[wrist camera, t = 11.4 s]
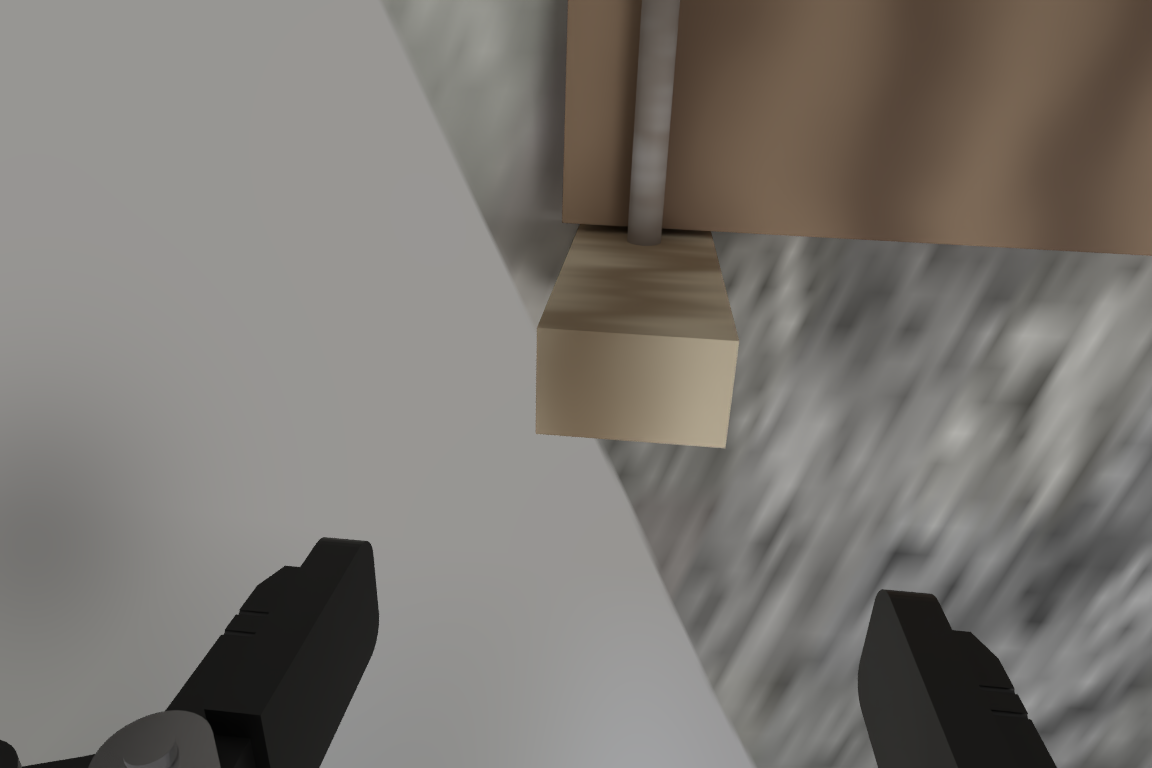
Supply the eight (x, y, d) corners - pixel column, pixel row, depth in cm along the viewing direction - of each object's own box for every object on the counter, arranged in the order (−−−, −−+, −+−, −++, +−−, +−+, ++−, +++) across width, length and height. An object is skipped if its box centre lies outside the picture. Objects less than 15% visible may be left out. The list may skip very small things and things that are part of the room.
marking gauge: (740, -60, 26) (800, -127, 15) (702, 302, 31) (725, 448, 20) (591, -65, 26) (543, -133, 15) (578, 294, 32) (535, 433, 21)
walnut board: (1360, -140, 24) (1422, -155, 22) (1213, 246, 29) (1252, 262, 27) (578, -155, 25) (572, -170, 24) (567, 211, 30) (561, 223, 29)
